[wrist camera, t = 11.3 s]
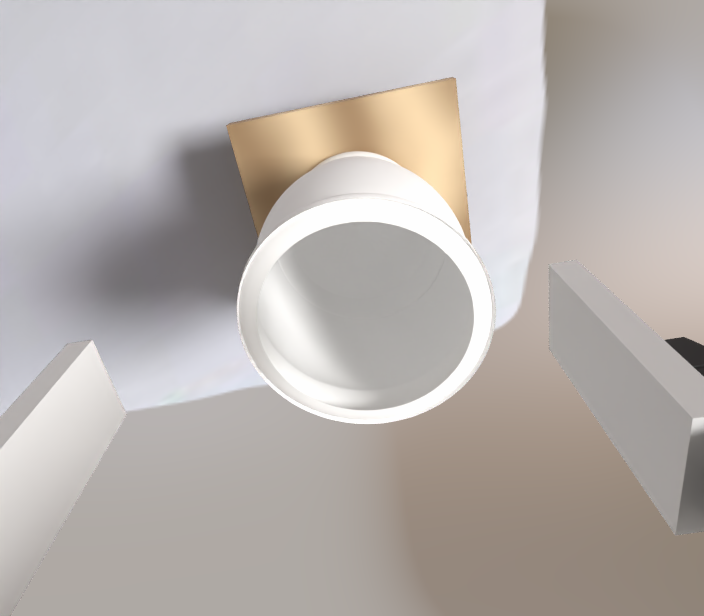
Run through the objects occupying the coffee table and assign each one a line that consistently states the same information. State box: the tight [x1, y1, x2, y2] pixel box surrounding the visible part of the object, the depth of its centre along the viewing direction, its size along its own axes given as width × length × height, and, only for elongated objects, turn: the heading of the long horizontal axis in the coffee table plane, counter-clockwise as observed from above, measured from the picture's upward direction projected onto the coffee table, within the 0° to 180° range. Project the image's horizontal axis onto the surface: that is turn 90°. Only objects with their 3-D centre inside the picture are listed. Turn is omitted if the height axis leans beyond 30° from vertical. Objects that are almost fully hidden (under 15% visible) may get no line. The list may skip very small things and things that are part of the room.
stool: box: [226, 77, 472, 245], centre depth 38 cm, size 14×14×7 cm
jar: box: [237, 151, 496, 424], centre depth 28 cm, size 11×10×15 cm
